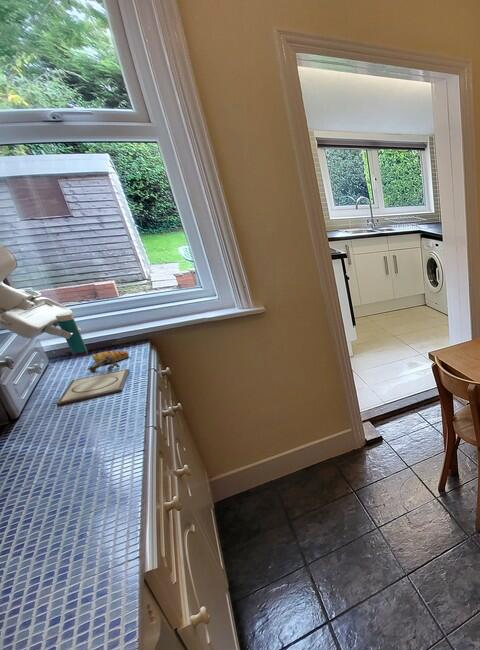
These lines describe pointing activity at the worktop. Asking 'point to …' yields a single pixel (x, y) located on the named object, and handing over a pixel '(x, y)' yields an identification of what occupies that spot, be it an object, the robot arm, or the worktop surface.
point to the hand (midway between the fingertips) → (75, 334)
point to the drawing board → (94, 387)
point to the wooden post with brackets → (104, 363)
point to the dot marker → (76, 340)
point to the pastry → (115, 354)
